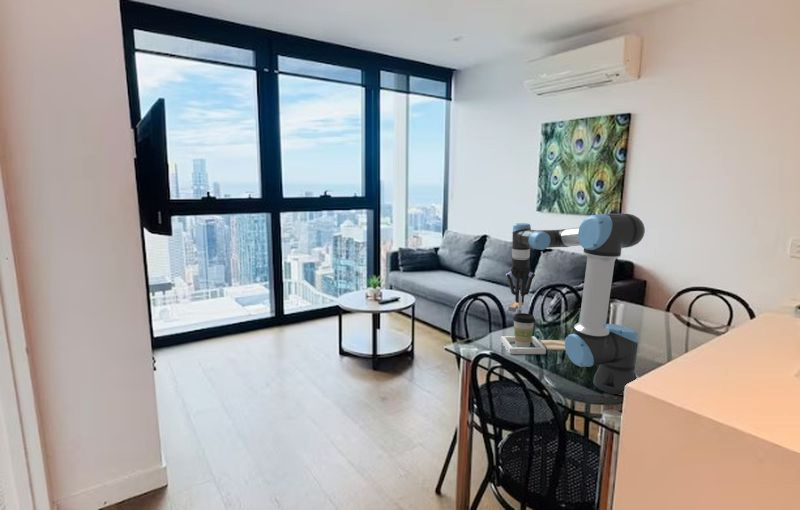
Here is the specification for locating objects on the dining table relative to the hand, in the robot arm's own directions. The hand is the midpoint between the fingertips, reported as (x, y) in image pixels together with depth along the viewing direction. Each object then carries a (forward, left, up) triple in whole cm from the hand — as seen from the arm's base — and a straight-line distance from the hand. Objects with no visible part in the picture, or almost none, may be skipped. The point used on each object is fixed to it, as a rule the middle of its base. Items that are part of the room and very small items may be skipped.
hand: (519, 309), depth 203 cm
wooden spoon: (+3, 0, 0) cm, 3 cm away
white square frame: (+1, -2, -18) cm, 18 cm away
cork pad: (+2, -19, -18) cm, 27 cm away
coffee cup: (0, -2, -18) cm, 18 cm away
